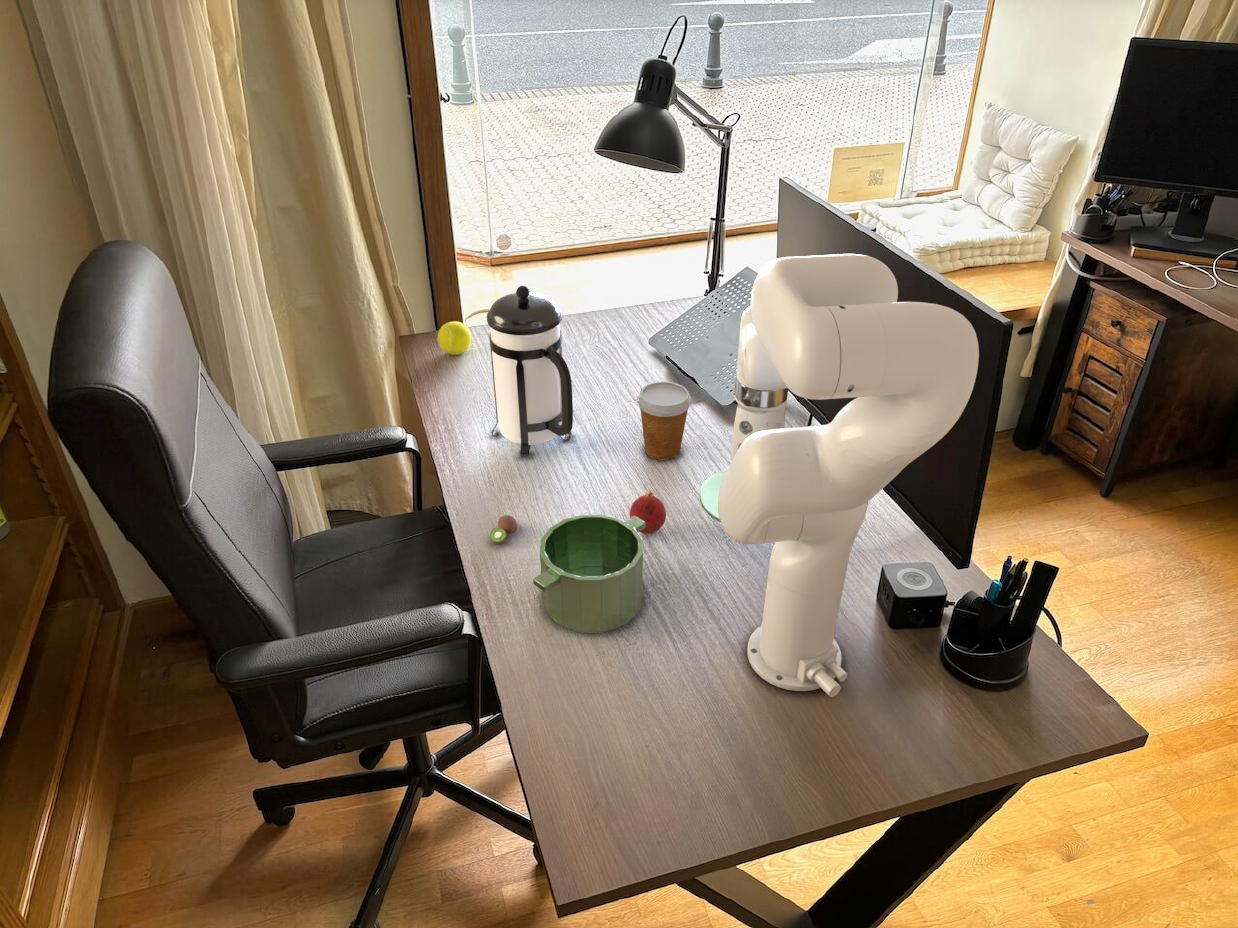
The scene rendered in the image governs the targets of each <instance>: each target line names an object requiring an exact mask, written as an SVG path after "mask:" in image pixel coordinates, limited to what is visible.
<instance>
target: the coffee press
mask: <svg viewBox="0 0 1238 928" xmlns="http://www.w3.org/2000/svg"><path fill="white" fill-rule="evenodd" d="M562 317H563V313H562V310H561V308H559V306H558V305H557V303H556V301H554V300H553V299H552V298H550V297H549V296H547V295H545V294H541V293H537V292H531V290H530V289H529V288H528V286H526V285H519V286H518V287H517V288H516V290H515V292H514V293H509V294H506V295H504V296H502V297H500V298H497V300H495V301H494V302H493V303H492V305H491V306H490V309H489V310H488V312H487V313H486V322H487V324H488V326H489V335H488V336H489V347H490V357H491V369H492V379H493V392H494V393H493V394H494V406H495V417H496V418H495V419H496V424H494V426H493V427H492V430H491V435H492V436H493V437H499V436H500V435H502V437H503V438H505V439H506V440H507V441H509V442H511V443H514V444H517V445H518V444H519V445H520V457H521V458H529V457H530V451H531V450H530V449H531V446H534V445H540V444H541V445H542V444H544V443H547V442H550V441H551V440H553V439H555V438H556V437H560V438H561V439H562V440H563V441H570V440H571V438H572V429H573V425H574V407H573V406H574V405H573V403H574V402H573V401H574V400H573V385H572V383H573V382H572V376H571V372H570V369H569V367H568V364H567V362H566V360H565V358H564V357H563V346H562V345H563V344H562V343H563V339H562V336H563V335H562V331H561V322H562V319H563V318H562ZM497 426H498V430H499V431H496V430H495V429H496V428H497Z"/></svg>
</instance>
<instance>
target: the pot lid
mask: <svg viewBox="0 0 1238 928" xmlns="http://www.w3.org/2000/svg"><path fill="white" fill-rule="evenodd" d="M726 471H727V469H723V470H720V471H718V472H716V473H714V474H712V475H710V476H709V477H708V478H707V479H706V480H705V481H704V482H703V483H702V485H701V487H700V491H699V501H700V504H701V506H702V508H703V510H704V511H705V513H707V514H708V515H709V517H711V518H712V519H714V520H715V521H717V522H718V523H721V521H720V517H719V512H718V497H719V490H720V486H721V483H722V480H723V477H724V475H725V473H726Z"/></svg>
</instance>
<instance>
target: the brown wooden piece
mask: <svg viewBox="0 0 1238 928" xmlns="http://www.w3.org/2000/svg"><path fill="white" fill-rule="evenodd" d="M636 402H637V404H638V406H639V410H640V417H641V426H642V435H643V442H644V451H645V454H647V456H648V457H650V458H652V459H655V460H659V461H667V460H672V459H674V458H676V457H678V455H679V454H680V452H681V447H682V441H683V437H684V431H685V427H686V421H687V416H688V410H689V408H690V406H691V404H692V397H691V395H690V393H689V390H688V389H687V388H686V387H685V386H683V385H682V384H680V383H676V382H673V381H663V380H662V381H655V382H654V381H653V382H650V383H647V384H645V385H644V386H643V387H642V388H641V389H640V391H639V394H638V395H637V397H636Z"/></svg>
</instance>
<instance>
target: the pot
mask: <svg viewBox="0 0 1238 928" xmlns="http://www.w3.org/2000/svg"><path fill="white" fill-rule="evenodd" d="M644 528H646V522H644V521H643V520H641V519H639V518H638V517H636V516H633V517H631V518H630V517H629V518H628V519H626V520H623V519H621V518H618V517H614V516H610V515H606V514H601V513H600V514H599V513H598V514H597V513H596V514H580V515H576V516H575V515H574V516H571V517H568V518H565V519H562V520H561V521H560V522H557V523H556V524H553V525H552V526H551V527H549V528H548V529H547V531H546V532H545V534H544V535H543V536H542V538H541V539H540V544H539V545H540V546H539V561H540V563H539V564H540V574H539V575H537V576H535V577H534V578H532V582H533V585H534V586H536V587H537V588H538V589H539V590H541V593H542V594H541V595H542V604H543V607H544V609H545V612H546V613H547V615H548V616H549V618H550V619H551V620H552V621H553V622H555V623H556V624H557V625H559V626H561V627H562V628H564V629H566V630H569V631H573V632H577V633H581V634H583V633H584V634H601V633H607V632H612V631H614V630H617V629H619V628H621V627H623V626H625V625H626V624H628V623H629V622H631V621H632V620H633V619H634V618H635V617H636V615H637V614H638V612H639V611H640V609H641V606H642V603H643V577H644V575H643V574H644V573H643V572H644V570H643V569H644V541H643V540H644V539H643V538H642V537H641V535H640V533H641V532H640V531H641V530H643V529H644Z"/></svg>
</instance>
